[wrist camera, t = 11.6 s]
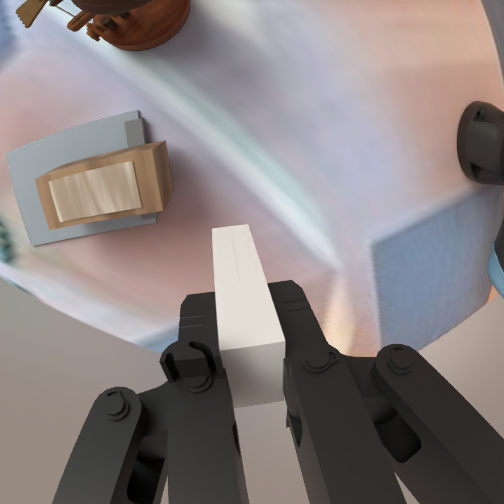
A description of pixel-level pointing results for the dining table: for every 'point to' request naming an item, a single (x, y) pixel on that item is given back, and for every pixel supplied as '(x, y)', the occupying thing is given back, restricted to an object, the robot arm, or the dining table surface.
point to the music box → (120, 20)
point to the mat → (65, 151)
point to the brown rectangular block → (107, 186)
